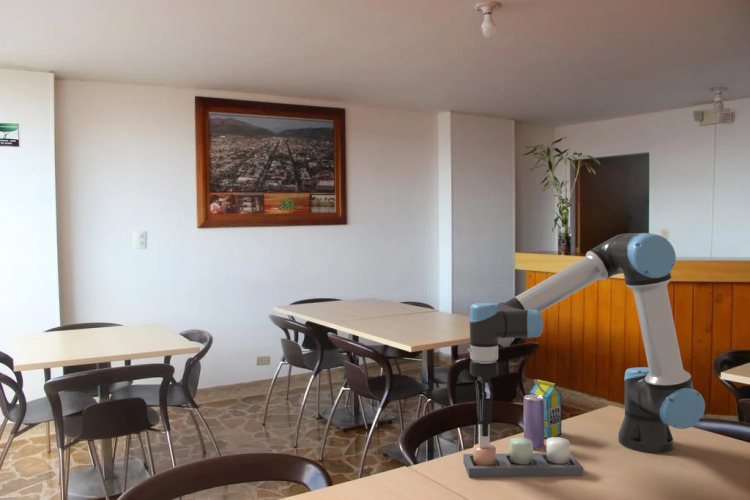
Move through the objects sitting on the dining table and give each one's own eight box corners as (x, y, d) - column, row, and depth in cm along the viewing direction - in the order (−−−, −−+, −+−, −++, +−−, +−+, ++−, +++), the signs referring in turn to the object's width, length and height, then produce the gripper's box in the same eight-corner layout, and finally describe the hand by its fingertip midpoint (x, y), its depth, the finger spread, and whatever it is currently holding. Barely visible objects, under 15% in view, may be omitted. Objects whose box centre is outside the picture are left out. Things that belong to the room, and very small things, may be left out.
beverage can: (545, 450, 173) (544, 400, 172) (524, 449, 174) (524, 399, 173) (543, 443, 179) (543, 394, 178) (523, 442, 180) (523, 393, 179)
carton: (527, 434, 187) (526, 377, 186) (542, 429, 191) (542, 374, 191) (546, 440, 181) (546, 382, 180) (561, 435, 186) (561, 378, 185)
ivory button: (565, 454, 162) (565, 437, 162) (572, 463, 156) (572, 445, 156) (543, 455, 162) (543, 437, 162) (550, 463, 156) (550, 445, 156)
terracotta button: (493, 461, 162) (493, 443, 162) (497, 469, 156) (497, 451, 156) (471, 461, 162) (471, 443, 162) (475, 470, 156) (475, 451, 156)
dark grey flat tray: (570, 461, 164) (570, 452, 164) (582, 476, 154) (582, 467, 154) (463, 462, 164) (463, 453, 164) (469, 477, 154) (469, 468, 154)
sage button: (529, 455, 162) (529, 437, 162) (535, 463, 156) (535, 445, 156) (507, 455, 162) (507, 437, 162) (512, 464, 156) (512, 445, 156)
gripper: (466, 355, 165) (466, 438, 166) (474, 365, 152) (474, 455, 153) (493, 355, 165) (493, 438, 166) (502, 365, 152) (503, 455, 153)
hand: (484, 446), depth 159 cm, fingers closed
